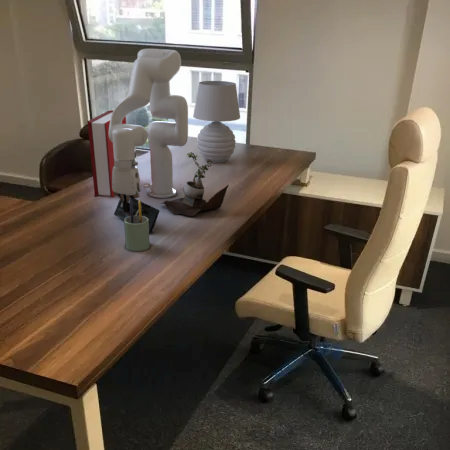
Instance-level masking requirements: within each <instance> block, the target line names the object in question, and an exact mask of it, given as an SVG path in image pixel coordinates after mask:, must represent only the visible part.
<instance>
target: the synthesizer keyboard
mask: <svg viewBox="0 0 450 450" xmlns="http://www.w3.org/2000/svg"><path fill="white" fill-rule="evenodd" d="M139 200H140V199H138V198H134V199H133V200H132V204H133V216H139V204H138V201H139ZM159 213H160V209H158V208H156V207H154V206H151V205H149V204H147V203H145V202H143V201H141V215H142V216H144V217H147V218H148V220H149V234H152V233H153V232H154V228H155V226H156V223H157V220H158V216H159ZM113 215H114V216H116V217H117V218H119V219H121V220H122V221H124V219H125V218H127V217H130V216H131V215H130V211H129V212H124V209H123V203H122V201H121V199H120V198H119V200H118V203H117V206H116V208H115V211H114V212H113Z"/></svg>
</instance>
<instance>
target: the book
mask: <svg viewBox="0 0 450 450" xmlns="http://www.w3.org/2000/svg"><path fill="white" fill-rule="evenodd" d="M113 111H114V109H112V110H107V111H105V112H103V113H101V114H99V115H97V116H95V117H93V118H91V119H89V120H87V130H88V131H87V132H88V141H89V142H88V143H89V152H90V162H91V171H92V180H93V182H92V183H93V193H94V197H96V196H109V197H111V198H114V196H115V195H114V194H113V192H114V191H113V189H112V171H113V167H114V152H113V142H111V140H110V138H109V125H110V120H111V115H112V113H113ZM121 124H127V115H126V116H125V117H124V119H123V120H122V123H121Z"/></svg>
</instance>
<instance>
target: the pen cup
mask: <svg viewBox="0 0 450 450" xmlns="http://www.w3.org/2000/svg"><path fill="white" fill-rule="evenodd" d="M129 200H130V215H131V216H130V217H127V218H125V219H124V220H123V229H124V239H125V240H124V241H125V248H126V249H127V250H128V251H130V252H131V251H132V252H143V251H146V250H148V249H149V248H150V247H151V242H150V233H149V220H148V218H147V217H144V216H142V215H141V202H142V201H141V200H140V199H138V200H139V201H138V204H139V216H133V204H132V198H130V199H129Z"/></svg>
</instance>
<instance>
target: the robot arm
mask: <svg viewBox="0 0 450 450" xmlns="http://www.w3.org/2000/svg"><path fill="white" fill-rule="evenodd" d="M181 65H182V59H181V55H180V53H179V52H178V50H175V49H162V48H142V49H140V50H139V51H138V52H137V57H136V59H135V60H134V61H133V64H132V68H131V72H130V73H131V74H130V79H129V84H128V90H127V94H126V96H125V97H124V98H123V99H122V100H120V102H118V104H117V105H116V106H115V108H114V109H113V110H114V111H113V113H112V115H111V120H110V125H109V138H110V140H111V142H113V152H114V167H113V171H112V189H113V191H114V192H113V194H114V196H117V197H118V198H119V200H120V199H121V201H122V203H123V209H124V212H129V211H130V200H129V199H130V198H132V200H133V199H134V198H135V199H138V198H139V199H140V198H141V195H140V193H141V191H142V187H141V185H142V184H141V178H140V173H139V169H138V165H139V162H138V161H136V159H135V148H137V147H142V146H144V145H145V144H146V143H147V141H148V144H149V154H150V158H149V159H150V179H151V182H147V181H146V182H144V183H143V187H144V189H148V196H150V197H152V198H156V199H157V198H158V199H167V198H172V197H174V196H176V195H177V190H176V189H174V178H173V176H174V175H173V173H174V172H173V154H172V151H171V149H170V148H169V146H171V147H184V146H186V145H187V143H188V139H189V105H188V101H187V99H186V98H185V97H184V95H183V96H182V95H178V94H171V86H170V84H171V83H170V81H172V79H173V78H174V77H175V76H176V75H177V74H178V73H179V72H180V69H181ZM148 104H149V112H150V115H151V116H152V117H154V118H157V119H164V120H165V119H166V120H173V121H172V122H171V121H161V120H155V121H152V122H150V123H149V124H148V125H147V127H146V128H145V127H144V126H143V125H139V124H129V123H126V124H121V123H122V120H123V119H124V117H125V116H126V117H127V115H129V114H130V113H132V112H134V111H136V110H139V109H141V108H143V107H146V106H147V105H148Z"/></svg>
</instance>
